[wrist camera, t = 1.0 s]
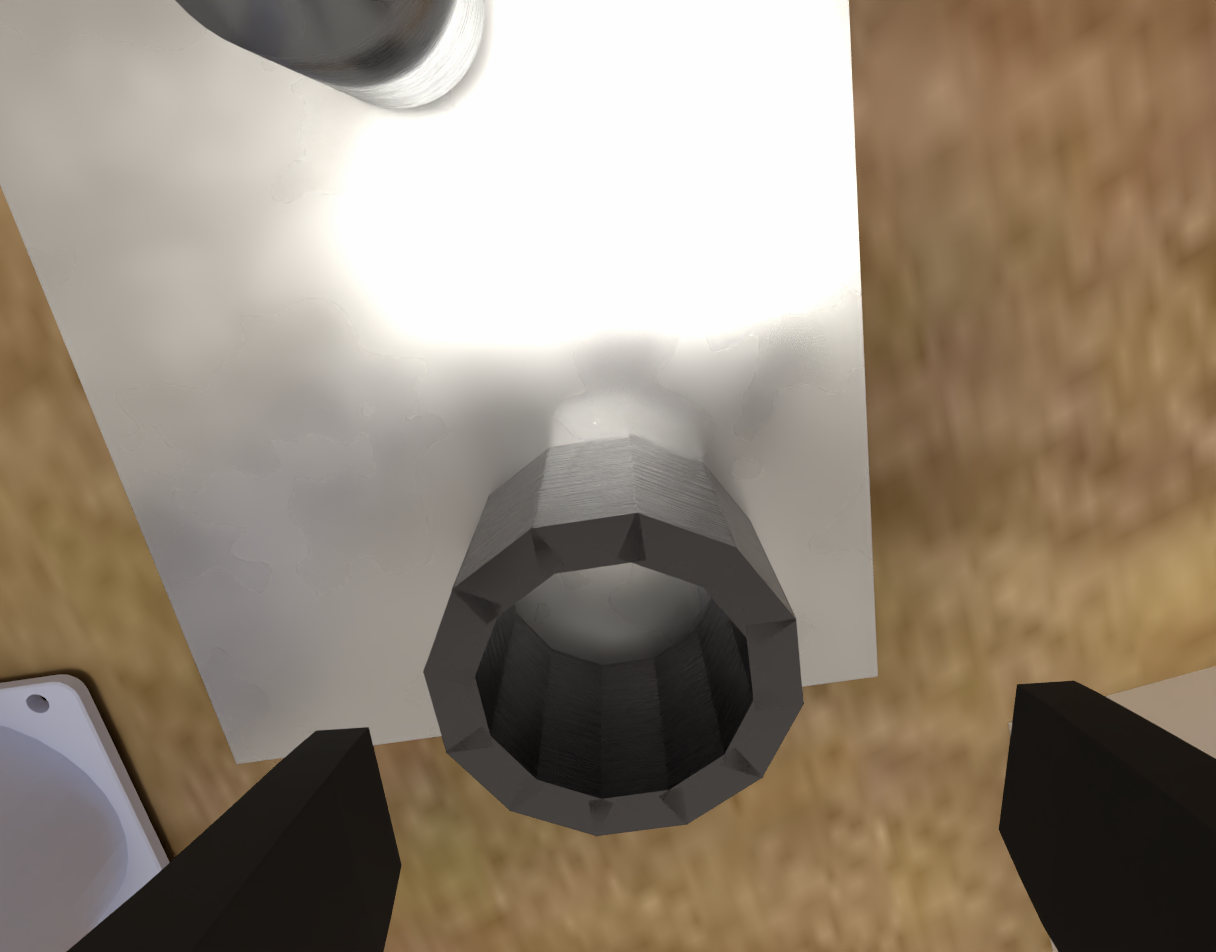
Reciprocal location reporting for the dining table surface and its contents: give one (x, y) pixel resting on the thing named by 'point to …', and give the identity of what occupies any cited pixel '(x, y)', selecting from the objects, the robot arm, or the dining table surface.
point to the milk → (1177, 708)
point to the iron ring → (627, 691)
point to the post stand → (444, 309)
